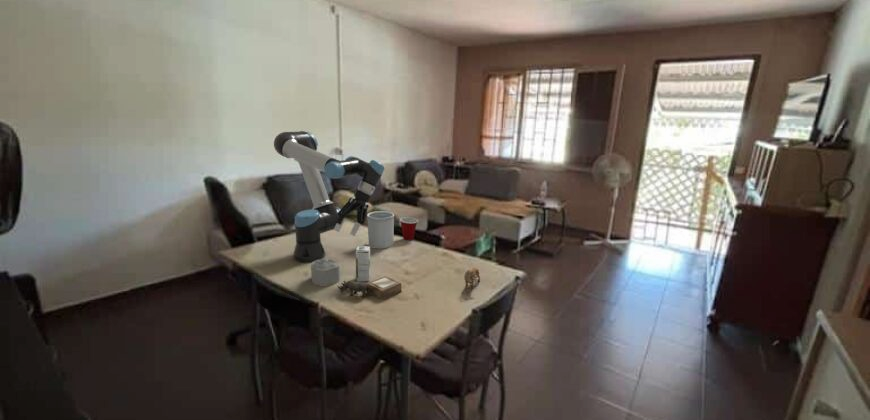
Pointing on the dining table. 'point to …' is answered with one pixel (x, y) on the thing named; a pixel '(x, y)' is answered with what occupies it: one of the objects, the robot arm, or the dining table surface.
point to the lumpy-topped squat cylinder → (325, 272)
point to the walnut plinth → (384, 287)
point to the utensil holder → (380, 229)
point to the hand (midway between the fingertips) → (344, 233)
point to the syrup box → (362, 263)
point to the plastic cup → (408, 227)
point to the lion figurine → (471, 277)
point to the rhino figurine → (355, 288)
